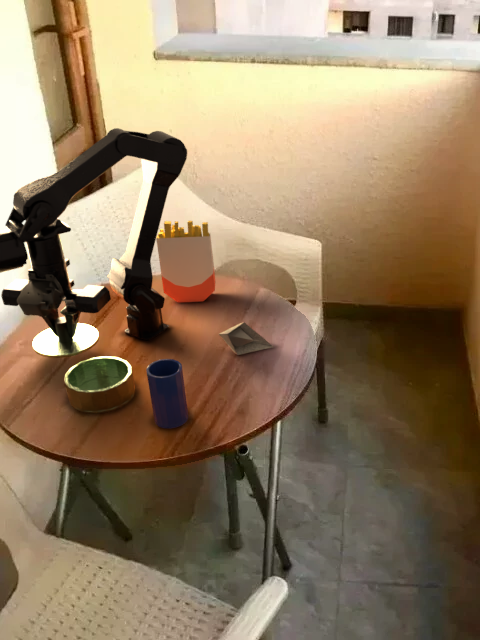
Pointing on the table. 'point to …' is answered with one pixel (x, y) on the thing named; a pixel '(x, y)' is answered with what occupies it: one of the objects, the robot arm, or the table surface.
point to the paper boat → (244, 339)
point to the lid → (65, 340)
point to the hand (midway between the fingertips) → (65, 336)
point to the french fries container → (186, 262)
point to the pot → (100, 384)
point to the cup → (167, 393)
